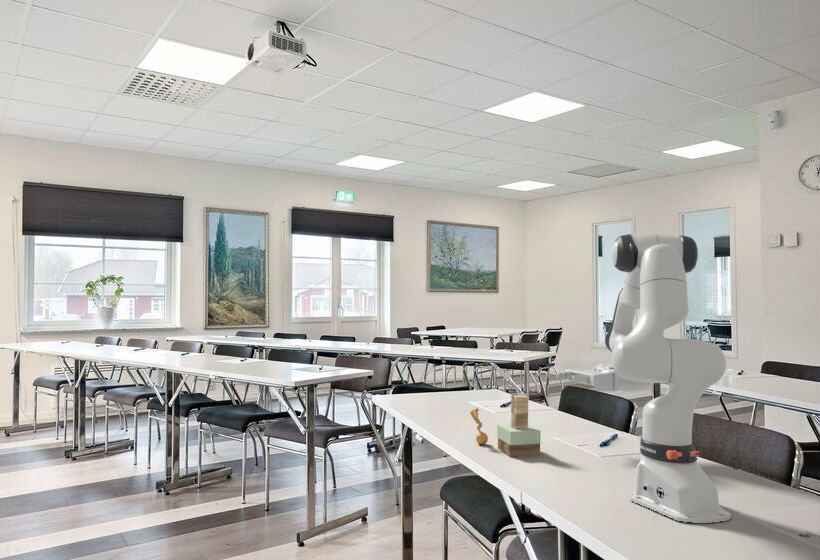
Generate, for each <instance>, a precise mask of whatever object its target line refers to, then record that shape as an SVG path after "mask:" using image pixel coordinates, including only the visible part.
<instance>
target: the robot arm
mask: <svg viewBox="0 0 820 560" xmlns="http://www.w3.org/2000/svg"><path fill="white" fill-rule="evenodd" d="M611 260H612V262H613V266H614V267H615V268H616V269H617V270H618V271H619V272H625V274H624V282H623V287H622V288H621V289H620V291H619V293H618V296H617V299H616V303H615V307H614V312H613V316H612V317H613V318H612V321H611V324H610V327H609V328H608V331H607V332H606V334H605V338H604V344H605V346H606V348H607V350H608V351H609V352H611V357H610V358H611V363H598V364H596V365H595V366H594V367H593V368H592V369H591V370H589V369H582V368H581V369H578V368H577V369H574V368H573V369H571V368H568V369H567V368H565V370H564V372H557V373H556V378H557V379H559V380H563V379H564V380H565V381H569V382H573V383H578V384H583V385H587V386H590V387H591V386H592V387H593V388H595V389H596V390H597V391H598V392H602V393H603V392H605V393H606V392H607V393H608V392H610V393H611V392H613V393H615V392H619V391H622V392H626V393H627V392H628V393H632V392H642V391H647V390H650V389H651V388H652V387H653V386H654V384H667V385H668V389H667V390H666V392H665V393H664V394H662V395H659V396H657V397H655V398H654V399H651V400H649V401H647V402H646V404H645V405H644V406H643V408H642V425H641V426H642V427H641V428H642V433H641V438H640V443H639V452H640V454H641V457H640V460H639V462H638V464H637V465H636V471H635V481H634V489H633V490H634V492H633V494H631V495H630V498H629V501H630V502H632V501H633V502H632V503H635V504H637V503H638V504H637V505H639V504H640V505H639V506H641V505H642V507H644V506H645V507H644V508H646V507H647V508H646V509H648V508H650V509H649V510H651V509H652V510H651V511H653V510H654V511H653V512H655V511H657V512H659V513H658V514H660V513H661V514H660V515H662V514H663V515H662V516H664V515H666V516H668V517H667V518H669V517H670V518H669V519H671V518H673V519H674V520H673V519H672V520H673V521H676V520H677V521H676V522H679V521H683V522H682V523H687V522H692V523H691V524H709V523H710V524H711V523H712V522H713V523H721V522H720V521H722V522H726V521H729V520H730V518H731V519H732V514H731V513H730V512H729V511H728V510H726V509H724V508H723V507H722V506H720V504H719V492H718V489H717V487H716V484H715V482H714V481H713V480H711V479H710V478H709V477H708V475H707V474H706V473H705V471H704V469H702V467H701V466H700V465H699V463H698V457H699V456H700V454H699V453H700V451H699V450H696V448H695V445H694V443H693V442H692V441H693V438H692V435H693V421H694V414H695V413H694V412H695V409H696V405H697V403H698V401H699V400H700V398H701V397H702V395H703V394H704V393H705V392H706V391H707V390H708V389H709V388H710V387H712V386H713V385H714V384H716V383H718V382H719V381H720V380H721V379H722V377H724V374H725V372H726V369H727V360H726V356H725V353H724V351H723V350H722V348H721V347H720V346H719V345H718V344H716V343H714V342H710V341H705V340H701V339H692V338H689V339H688V338H668V337H665V336H664V331H665V330H667V329H669V328H672V327H675V326H676V325H678V324H680V323H682V322H683V321H684V320H686V318H687V316H688V313H689V300H688V299H689V298H688V297H689V296H688V284H687V283H688V281H687V276H686V275H687V273H690V272H692V271H693V270H694V269H695V268H696V265H697V263H698V260H699V249H698V245H697V242H696V241H695V240H694V239H693V237H690V236H687V235H681V234H680V235H672V234H671V235H670V234H656V233H639V234H630V233H629V234H623V235H620V236H617V238H616V239H614V243H613V245H612V249H611ZM636 310H639V315H638V318H637V321H636V324H635V325H634V326H633V323H634V319H635V315H636ZM657 512H656V513H657ZM666 516H665V517H666Z"/></svg>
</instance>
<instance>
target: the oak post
mask: <svg viewBox="0 0 820 560" xmlns="http://www.w3.org/2000/svg"><path fill="white" fill-rule="evenodd" d="M510 398H511V399H510V400H511V401H510V402H511V403H510V404H511V405H510V424H511V427H512V428H514V429H528V425H529V396H527V395H525V394H511V397H510Z"/></svg>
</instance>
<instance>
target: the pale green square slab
mask: <svg viewBox="0 0 820 560" xmlns="http://www.w3.org/2000/svg"><path fill="white" fill-rule="evenodd" d="M496 425H497V426H496V431H497V432H496V433H497V434H496V437H497V439H498V438H499V439H501V440H502V441H504V442H506V443H508V444H509V445H524V444H540V445H541V430H540V429H538V428H537V427H534V426H532V425H529V424H528V429H514V428H512V427H511V423H510V424H509V423H507V424H496Z"/></svg>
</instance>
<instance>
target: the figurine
mask: <svg viewBox="0 0 820 560" xmlns="http://www.w3.org/2000/svg"><path fill="white" fill-rule="evenodd" d="M479 411H480V410H479V408H478V407H476V408H473V409H471V410H470V412H469V414H470V416H471V418H473V420H474V422H475V423H476V424H477V426H476V430H477V431H478V433H477V434H476V436H475V441H476V443H477V444H479V445H482V446H483V445H486V444H487V443H488V441H489V437H488V434H487V433H486V432H484V431H482V430H480V429H481V428H482V427H483V422H481V420H480V419H479Z"/></svg>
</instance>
